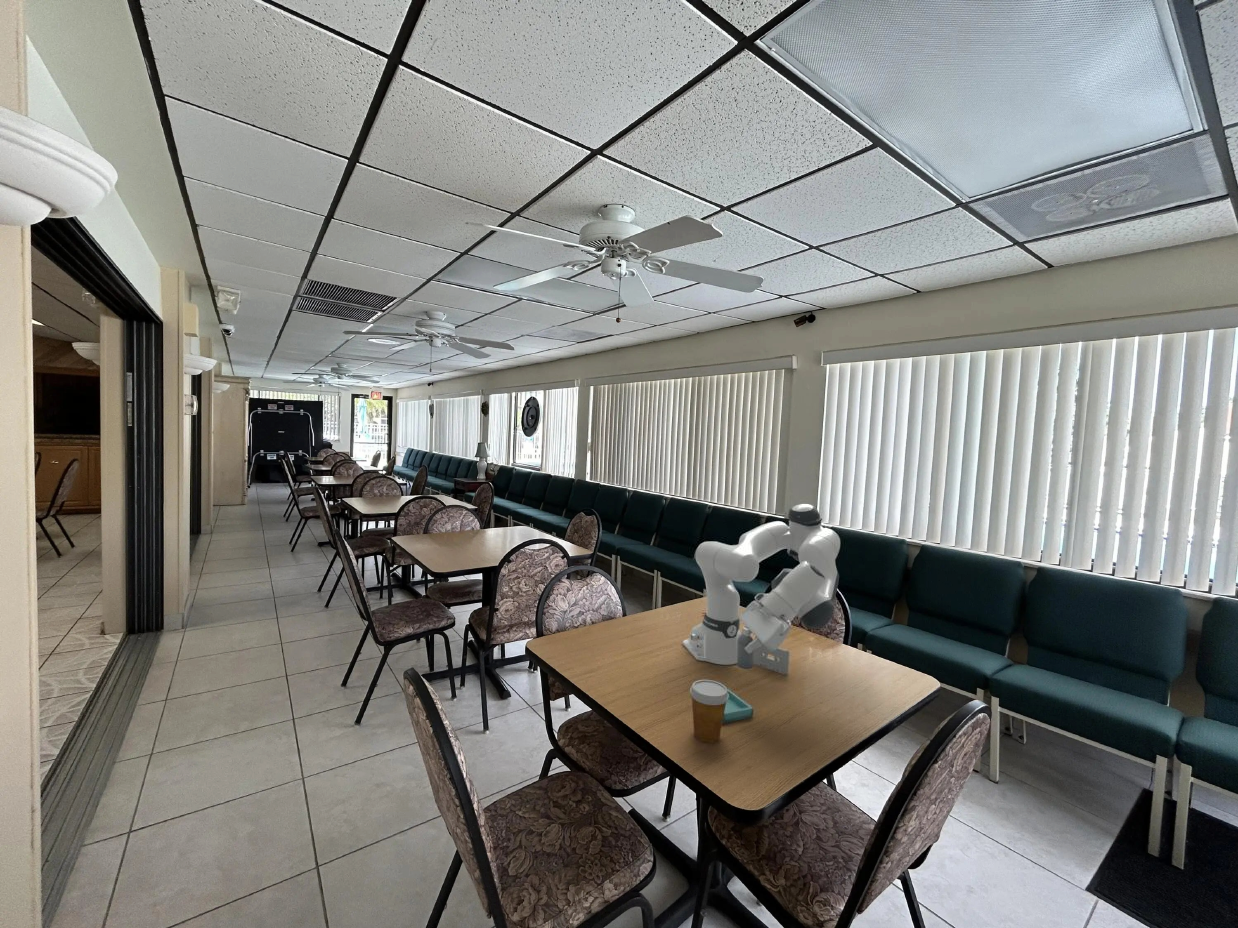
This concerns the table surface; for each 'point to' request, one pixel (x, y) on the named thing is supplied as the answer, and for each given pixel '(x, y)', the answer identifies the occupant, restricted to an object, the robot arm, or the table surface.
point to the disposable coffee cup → (708, 709)
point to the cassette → (772, 659)
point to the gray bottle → (743, 656)
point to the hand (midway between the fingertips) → (742, 646)
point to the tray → (736, 709)
